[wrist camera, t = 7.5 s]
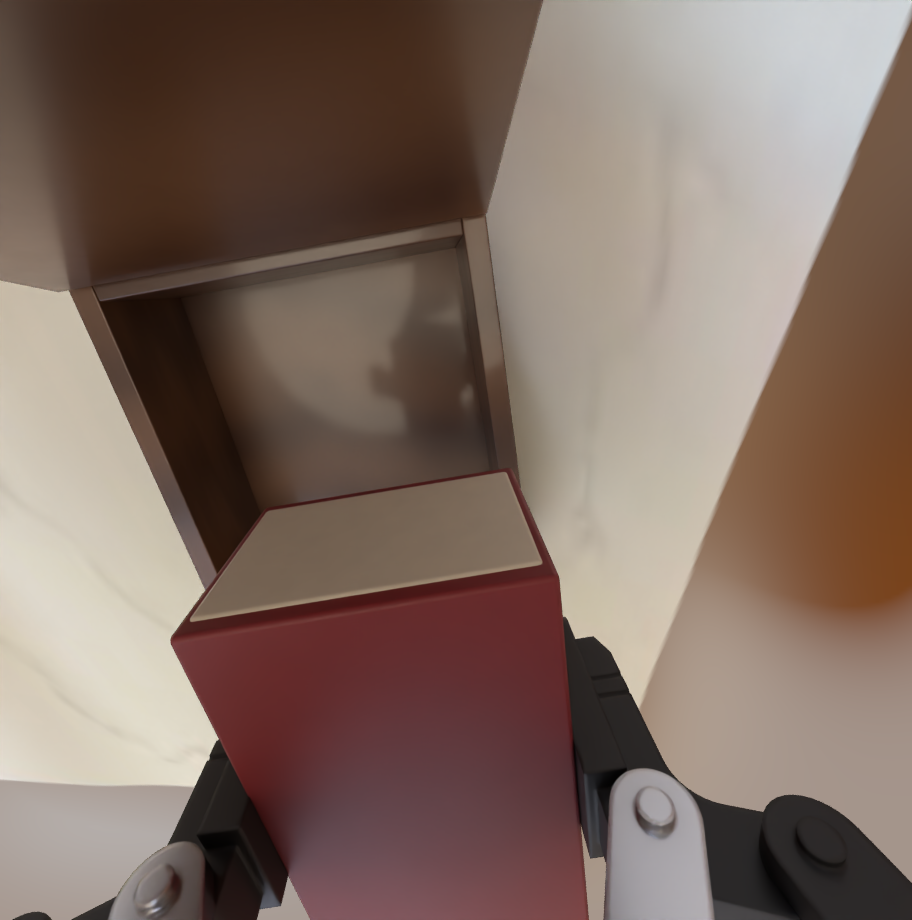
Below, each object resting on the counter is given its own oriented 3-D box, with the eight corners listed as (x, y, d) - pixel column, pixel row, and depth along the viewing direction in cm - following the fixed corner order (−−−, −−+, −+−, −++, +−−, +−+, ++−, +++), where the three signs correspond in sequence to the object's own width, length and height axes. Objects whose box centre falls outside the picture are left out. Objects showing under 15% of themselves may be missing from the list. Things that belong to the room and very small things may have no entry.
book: (545, 746, 13) (590, 928, 9) (360, 775, 13) (332, 968, 10) (511, 463, 10) (560, 573, 6) (263, 504, 10) (164, 637, 6)
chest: (513, 541, 30) (536, 611, 23) (279, 582, 30) (237, 663, 24) (469, 226, 23) (484, 203, 16) (165, 282, 23) (64, 281, 17)
